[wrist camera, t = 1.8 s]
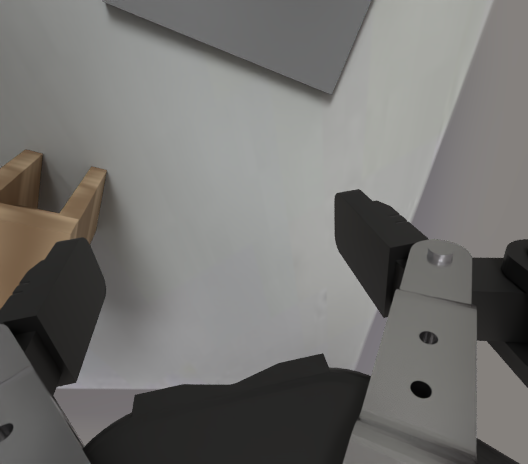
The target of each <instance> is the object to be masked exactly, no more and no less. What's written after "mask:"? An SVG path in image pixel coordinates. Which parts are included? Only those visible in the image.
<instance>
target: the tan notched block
mask: <svg viewBox="0 0 528 464" xmlns="http://www.w3.org/2000/svg"><path fill="white" fill-rule="evenodd" d="M42 157H43V154H41V153H37V152H34V151H30V150H24V151H23V152H22V153H20V154H19V155H17V156H16V157H15V158H13V159H12V160H11V161H9V162H8V163H7V164H5V165H4V166H3V167H1V168H0V309H1V308H2V307H3V305H4V304H5V302H6V301H7V300H8V298H9V297H10V296H11V295H12V292H13V291H14V290H15V288H16V287H17V286H18V285H19V283H20V281H21V280H22V278H23V277H24V275H25V274H26V273H27V271H29V270H30V269H31V268H32V267H34V266H35V265H36V264H38V263H39V262H40V261H41V260H44V259H45V258H46V256H47V255H48V253H49V252H50V250H51V249H52V248H53V246H54V245H55V243H56V242H58V241H64V240H70V239H75V238H81V237H84V238H85V239H87V241H88V242H89V244H90V243H91V241H92V239H93V236H94V234H95V232H96V228H97V222H98V217H99V211H100V206H101V200H102V195H103V189H104V184H105V178H106V172H107V170H104V169H100V168H96V167H92V166H91V168H90V169H89V171H88V172H87V174H86V175H85V177H84V178H83V180H82V181H81V183H80V184H79V185H78V187H77V188H76V190H75V191H74V193H73V194H72V196H71V197H70V199H69V200H68V202H67V203H66V205H65V206H64V207H63V209H62V210H61V212H60V213H55V212H50V211H45V210H40V209H37V208H38V198H39V188H40V177H41V167H42Z"/></svg>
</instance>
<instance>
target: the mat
mask: <svg viewBox="0 0 528 464" xmlns="http://www.w3.org/2000/svg"><path fill="white" fill-rule="evenodd" d="M102 2H105V3H107V4H110V5H112V6H115V7H117V8H120V9H122V10H124V11H127V12H129V13H132V14H134V15H137V16H139V17H142V18H144V19H147V20H149V21H152V22H154V23H156V24H159V25H161V26H164V27H166V28H169V29H171V30H174V31H176V32H179V33H181V34H183V35H186V36H188V37H191V38H193V39H196V40H198V41H201V42H203V43H206V44H208V45H210V46H213V47H215V48H218V49H220V50H223V51H225V52H228V53H230V54H233V55H235V56H237V57H240V58H242V59H245V60H247V61H250V62H252V63H255V64H257V65H260V66H262V67H264V68H267V69H269V70H272V71H274V72H277V73H279V74H282V75H284V76H287V77H289V78H291V79H294V80H296V81H299V82H301V83H304V84H306V85H309V86H311V87H314V88H316V89H318V90H321V91H323V92H326V93H328V94H331V95H332V93H333V90H334V88H335V86H336V83H337V81H338V79H339V76H340V74H341V71H342V69H343V67H344V64H345V62H346V60H347V57H348V55H349V53H350V50H351V48H352V45H353V43H354V41H355V38H356V36H357V34H358V31H359V29H360V26H361V24H362V22H363V19H364V17H365V15H366V12H367V10H368V7H369V5H370V3H371V0H103V1H102Z"/></svg>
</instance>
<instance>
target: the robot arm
mask: <svg viewBox="0 0 528 464" xmlns="http://www.w3.org/2000/svg"><path fill="white" fill-rule="evenodd" d="M335 241H336V245H337V248H338V250H339V252H340V254H341V255H342V257H343V258H344V260H345V261H346V263H347V264H348V266H349V267H350V269H351V270H352V272H353V273H354V275H355V276H356V278H357V279H358V281H359V282H360V283H361V285H362V286H363V288H364V289H365V291H366V292H367V294H368V295H369V297H370V298H371V300H372V301H373V303H374V304H375V306H376V307H377V309H378V310H379V312H380V313H381V314H382V316H383V317H384V318H385V317H388V319H387V322H386V326H385V330H384V333H383V337H382V340H381V343H380V347H379V351H378V354H377V358H376V361H375V364H374V368H373V371H372V375H371V376H369V375H366V374H363V373H360V372H357V371H353V370H348V369H341V368H329V367H328V364H327V362H326V360H325V357H324V355H323V354H318V355H314V356H309V357H305V358H300V359H296V360H291V361H287V362H282V363H278V364H276V365H274V366H272V367H270V368H267V369H265V370H263V371H261V372H259V373H257V374H255V375H253V376H250V377H248V378H246V379H244V380H242V381H240V382H238V383H235V384H231V385H190V384H183V385H178V386H174V387H169V388H165V389H160V390H156V391H151V392H147V393H142V394H137V395H135V397H134V403H133V409H132V413H130V414H128V415H126V416H124V417H122V418H121V419H119V420H117V421H116V422H114V423H112V424H111V425H110V426H108V427H107V428H105V429H104V430H103V431H101V432H100V433H99V434H98V435H96V436H95V437H94V438H93V439H92V440H91V441H90V442H89V443H88V444H87V445H86V446H85V445H84V444H83V442H82V441H81V439H80V438H79V436H78V434H77V433H76V431H75V430H74V428H73V426H72V425H71V423H70V422H69V420H68V418H67V417H66V415H65V413H64V412H63V410H62V409H61V407H60V406H59V404H58V402H57V401H56V399H55V398H54V396H53V395H54V392H55V390H56V387H58V386H63V385H68V384H72V383H76V381H77V378H78V376H79V373H80V370H81V367H82V364H83V361H84V358H85V355H86V352H87V349H88V346H89V343H90V340H91V337H92V334H93V331H94V328H95V325H96V323H97V320H98V317H99V314H100V311H101V308H102V305H103V302H104V299H105V295H106V285H105V280H104V277H103V275H102V272H101V270H100V268H99V265H98V263H97V261H96V258H95V256H94V254H93V251H92V249H91V246H90V244H89V242H88V241H87V239H85V238H84V237H81V238H75V239H70V240H64V241H58V242H56V243H55V245H54V246H53V248H52V249H51V250H50V252H49V253H48V255H47V256H46V258H45V259H44V260H41V261H40V262H39V263H38V264H36V265H35V266H34V267H32V268H31V269H30V270H29V271H27V273H26V274H25V275H24V277H23V278H22V280H21V281H20V283H19V285H18V286H17V287H16V288H15V290H14V291H13V292H12V295H11V296H10V297H9V298H8V300H7V301H6V302H5V304H4V305H3V307H2V308H1V309H0V464H519V463H518V462H516V461H514V460H513V459H511V458H509V457H508V456H506V455H504V454H503V453H501V452H499V451H497V450H496V449H494V448H492V447H491V446H489V445H488V444H486V443H484V442H482V441H481V440H479V439H477V438H476V417H477V414H476V413H477V408H476V407H477V394H476V393H477V385H476V384H477V340H479V341H487V342H488V343H489V344H490V345H491V346H492V347H493V349H494V350H495V351H496V352H497V353H498V354H499V355H500V357H501V358H502V359H503V360H504V361H505V362H506V363H507V365H508V366H509V367H510V368H511V369H512V370H513V372H514V373H515V374H516V375H517V376H518V377H519V378H520V379H521V380H522V382H523V383H524V384H525V385H526V386H527V387H528V239H527V240H526V239H524V240H517V241H514V242H511V243H510V244H509V245H508V246H507V248H506V251H505V255H504V258H472V256H471V254H470V253H469V251H468V250H466V249H465V248H463V247H462V246H460V245H458V244H456V243H453V242H450V241H445V240H438V239H436V240H435V239H431V240H429V239H428V238H427V237H426V236H425V235H423V234H422V233H421V232H420V231H419V230H418V229H416V228H415V227H414V226H413V225H412V224H411V223H409V222H407V220H406V219H405V218H404V217H402V216H401V215H399V213H398V212H397V211H395V210H394V209H393V208H392V207H391V206H389V205H386V204H384V203H381V202H379V201H372V200H371V199H370V198H368V197H367V196H366V195H365V194H364V193H363V192H362V191H361V190H359V189H357V190H352V191H346V192H340V193H337V194H336V195H335Z"/></svg>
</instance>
